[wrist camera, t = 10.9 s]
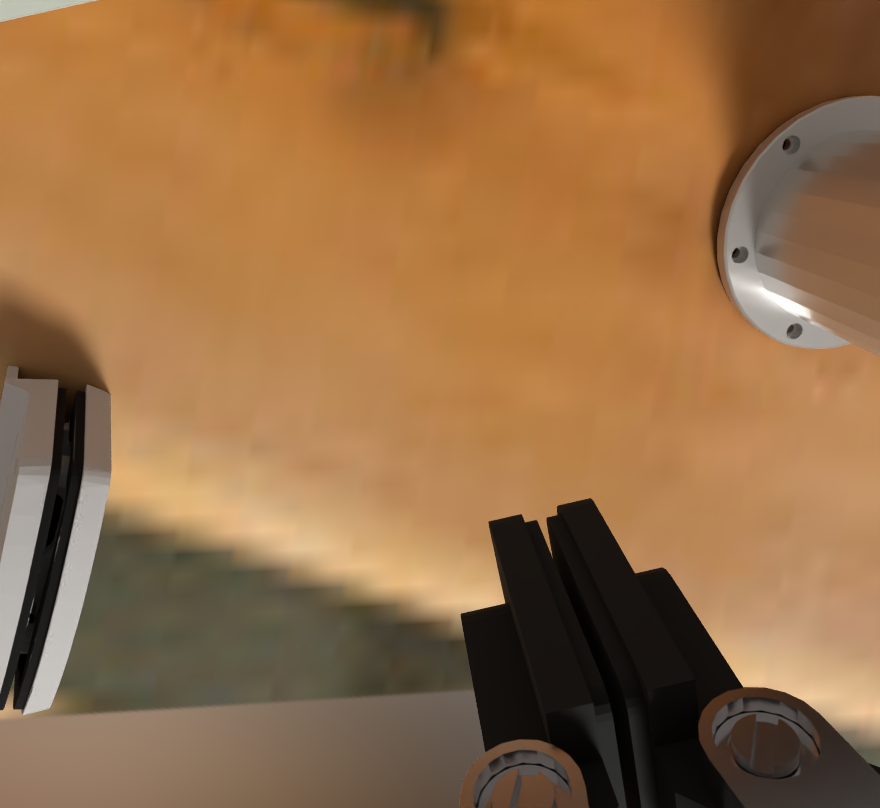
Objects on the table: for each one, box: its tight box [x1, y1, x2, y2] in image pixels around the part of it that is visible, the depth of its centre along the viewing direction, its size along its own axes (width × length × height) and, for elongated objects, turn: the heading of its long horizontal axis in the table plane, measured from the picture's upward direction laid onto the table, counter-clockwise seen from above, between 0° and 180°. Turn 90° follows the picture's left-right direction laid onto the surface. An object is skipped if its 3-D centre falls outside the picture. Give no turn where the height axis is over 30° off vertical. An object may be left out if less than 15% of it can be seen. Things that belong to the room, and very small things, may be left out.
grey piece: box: [0, 366, 111, 715], centre depth 37 cm, size 17×5×10 cm, turn 158°
